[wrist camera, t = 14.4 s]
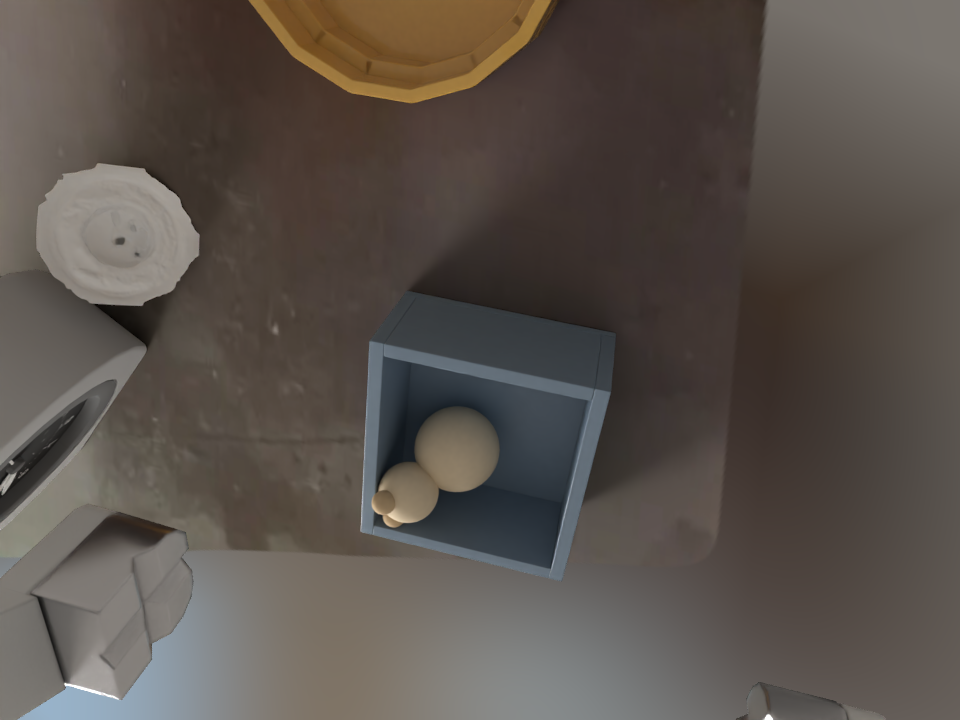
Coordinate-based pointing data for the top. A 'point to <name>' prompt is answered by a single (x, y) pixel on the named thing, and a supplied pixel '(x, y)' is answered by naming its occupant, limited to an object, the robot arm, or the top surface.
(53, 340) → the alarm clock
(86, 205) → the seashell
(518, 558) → the bin
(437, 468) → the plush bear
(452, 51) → the bowl
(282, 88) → the top surface
